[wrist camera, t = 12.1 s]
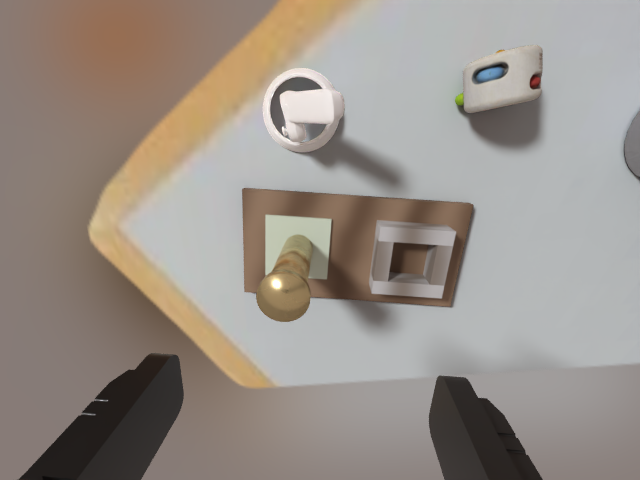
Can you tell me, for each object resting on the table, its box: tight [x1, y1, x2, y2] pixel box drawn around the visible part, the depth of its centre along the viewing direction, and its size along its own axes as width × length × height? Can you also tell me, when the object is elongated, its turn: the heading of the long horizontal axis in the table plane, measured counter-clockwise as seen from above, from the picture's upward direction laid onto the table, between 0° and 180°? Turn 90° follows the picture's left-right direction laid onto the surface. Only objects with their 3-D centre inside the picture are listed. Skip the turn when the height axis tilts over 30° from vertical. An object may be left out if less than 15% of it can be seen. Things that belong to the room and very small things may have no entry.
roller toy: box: [455, 45, 542, 113], centre depth 25 cm, size 4×6×6 cm
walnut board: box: [242, 188, 473, 306], centre depth 32 cm, size 24×12×4 cm, turn 87°
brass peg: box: [256, 235, 313, 322], centre depth 27 cm, size 4×4×11 cm
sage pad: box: [265, 214, 332, 279], centre depth 33 cm, size 7×7×1 cm
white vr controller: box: [263, 68, 345, 153], centre depth 26 cm, size 8×12×7 cm
